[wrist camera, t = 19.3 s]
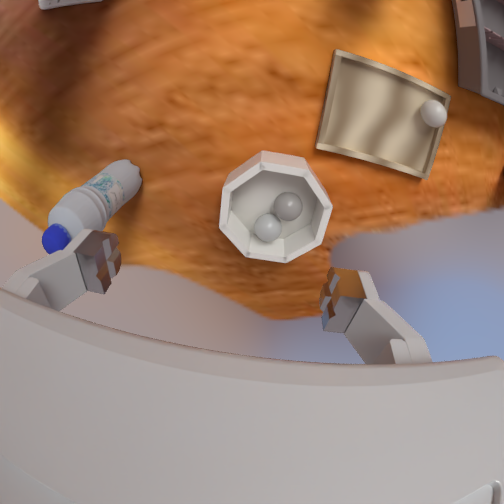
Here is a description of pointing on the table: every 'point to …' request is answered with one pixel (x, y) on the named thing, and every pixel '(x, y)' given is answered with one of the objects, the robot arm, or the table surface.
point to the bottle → (91, 204)
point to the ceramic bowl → (261, 202)
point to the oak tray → (379, 115)
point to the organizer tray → (480, 46)
